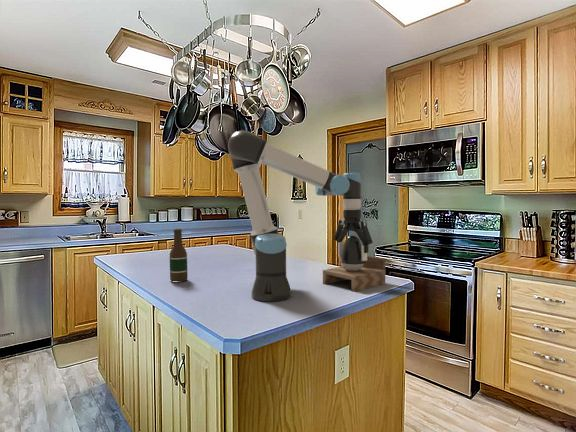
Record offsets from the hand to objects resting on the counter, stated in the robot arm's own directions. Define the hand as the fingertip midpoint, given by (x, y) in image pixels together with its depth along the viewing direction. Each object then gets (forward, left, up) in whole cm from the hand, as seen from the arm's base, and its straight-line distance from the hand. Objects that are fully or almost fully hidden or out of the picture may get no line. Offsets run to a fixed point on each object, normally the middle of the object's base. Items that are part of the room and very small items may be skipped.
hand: (352, 258), depth 154 cm
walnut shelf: (+1, 0, -11) cm, 11 cm away
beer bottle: (-55, +57, -11) cm, 80 cm away
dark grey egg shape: (0, 0, -5) cm, 5 cm away
